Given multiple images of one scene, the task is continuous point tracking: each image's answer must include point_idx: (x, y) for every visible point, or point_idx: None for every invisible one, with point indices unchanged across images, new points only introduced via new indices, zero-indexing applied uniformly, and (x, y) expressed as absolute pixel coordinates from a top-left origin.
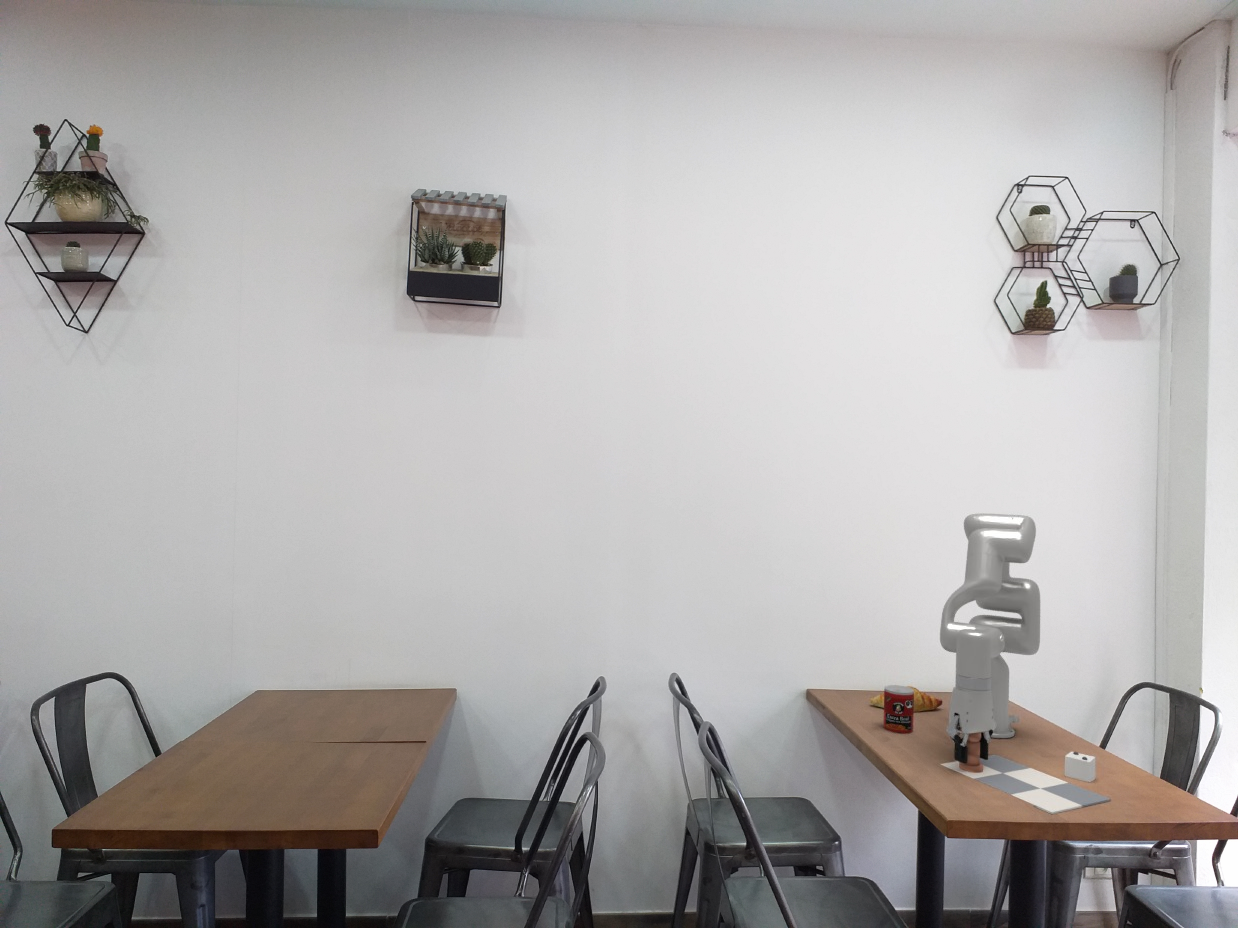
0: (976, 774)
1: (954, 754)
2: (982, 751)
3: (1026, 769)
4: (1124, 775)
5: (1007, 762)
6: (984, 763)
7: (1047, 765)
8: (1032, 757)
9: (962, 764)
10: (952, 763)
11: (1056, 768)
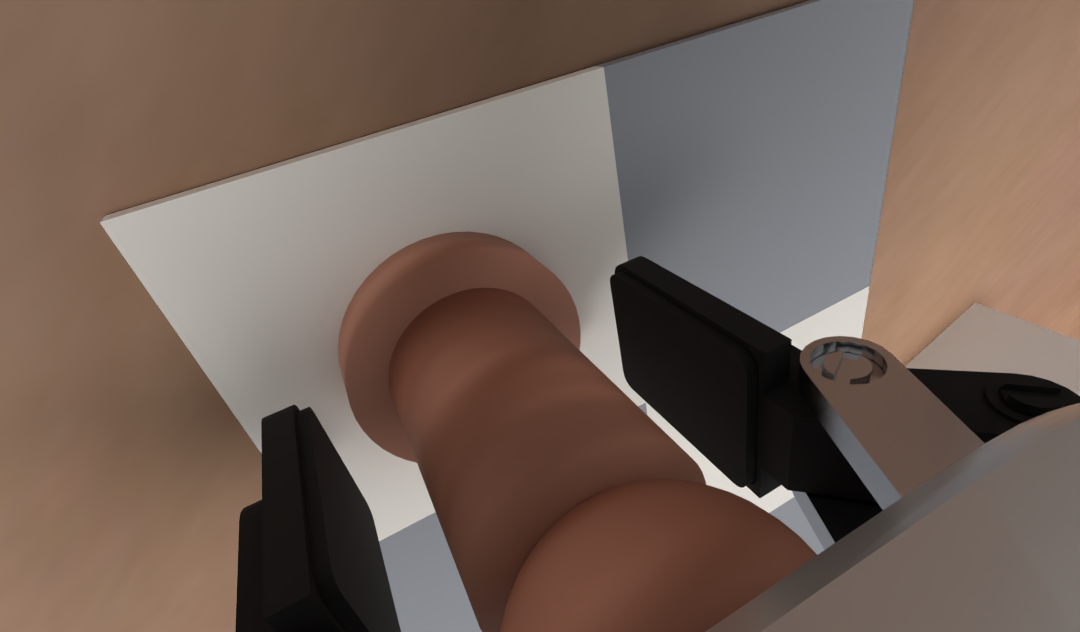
0: (419, 471)
1: (263, 449)
2: (666, 388)
3: (828, 312)
4: (1072, 321)
5: (837, 180)
6: (666, 200)
7: (983, 207)
8: (1050, 52)
9: (352, 408)
10: (319, 200)
11: (973, 254)
